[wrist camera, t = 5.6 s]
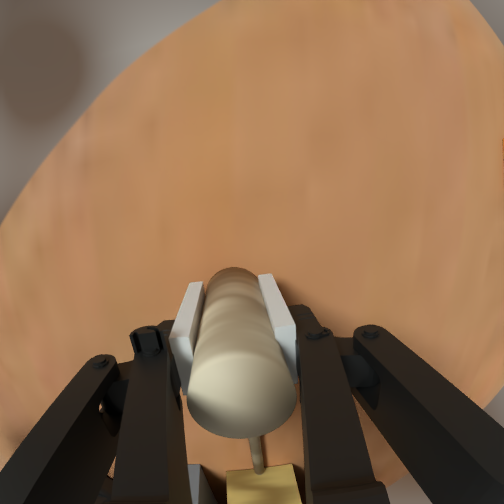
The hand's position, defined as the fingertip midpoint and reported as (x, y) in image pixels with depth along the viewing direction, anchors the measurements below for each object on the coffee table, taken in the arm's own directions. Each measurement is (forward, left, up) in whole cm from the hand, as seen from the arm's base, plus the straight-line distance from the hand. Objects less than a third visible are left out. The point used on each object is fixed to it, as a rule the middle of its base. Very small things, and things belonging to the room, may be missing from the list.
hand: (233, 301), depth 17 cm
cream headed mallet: (0, -11, -1) cm, 11 cm away
